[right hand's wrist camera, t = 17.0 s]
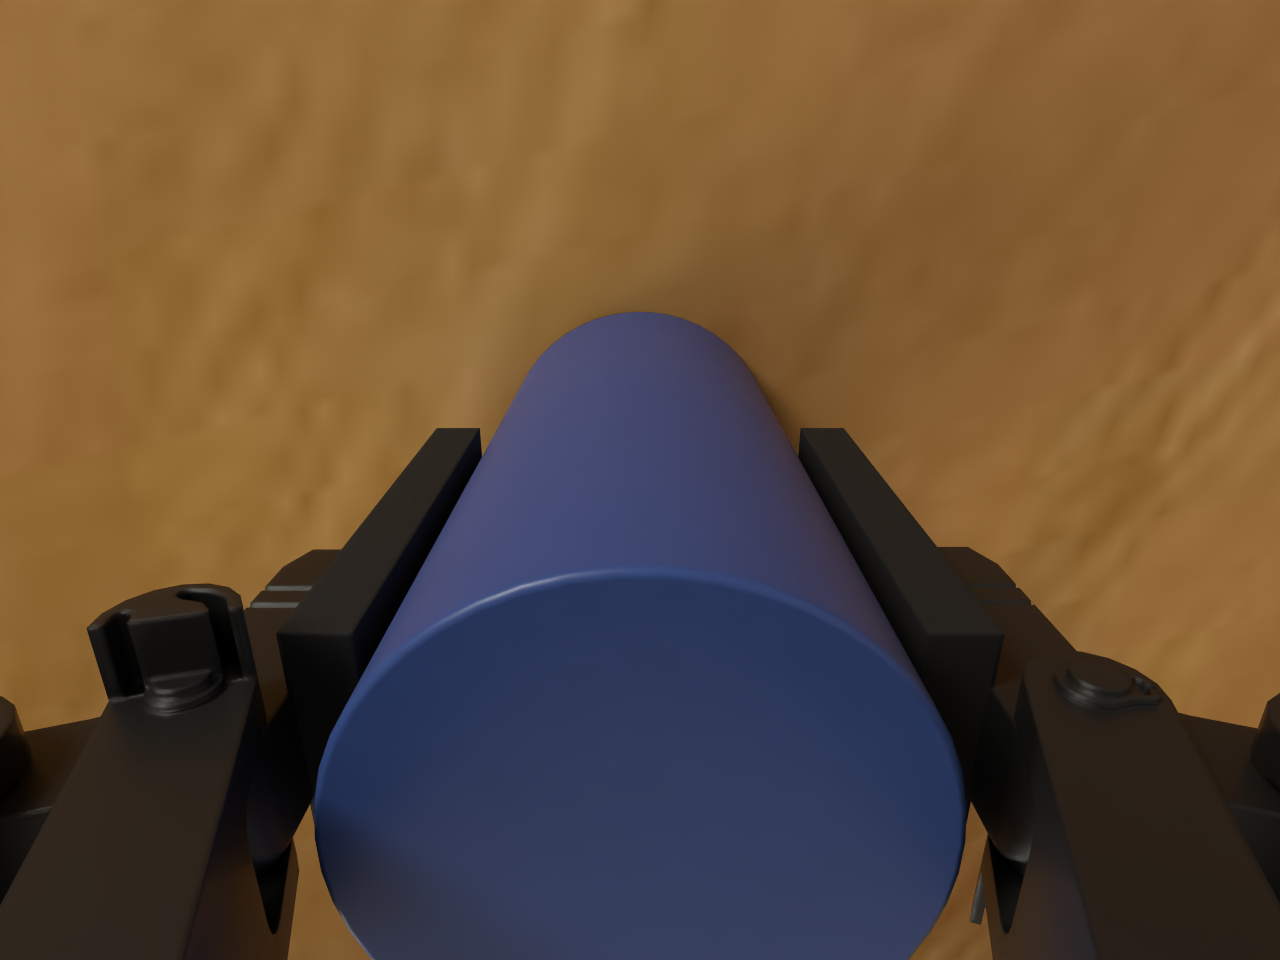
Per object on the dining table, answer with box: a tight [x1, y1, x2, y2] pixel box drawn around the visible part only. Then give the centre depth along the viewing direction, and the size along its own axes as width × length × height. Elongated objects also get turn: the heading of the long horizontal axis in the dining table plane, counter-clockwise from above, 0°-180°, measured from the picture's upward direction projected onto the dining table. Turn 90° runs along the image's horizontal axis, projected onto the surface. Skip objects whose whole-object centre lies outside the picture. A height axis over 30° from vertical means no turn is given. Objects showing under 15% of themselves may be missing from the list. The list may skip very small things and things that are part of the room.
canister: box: [314, 312, 967, 960], centre depth 12 cm, size 6×6×11 cm
